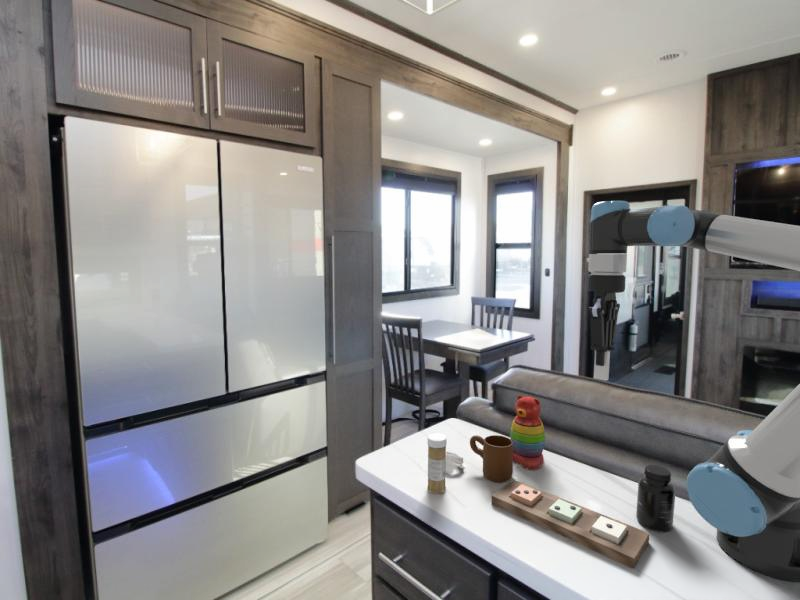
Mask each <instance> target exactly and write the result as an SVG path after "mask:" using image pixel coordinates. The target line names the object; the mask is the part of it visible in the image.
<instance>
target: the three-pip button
mask: <svg viewBox="0 0 800 600" xmlns="http://www.w3.org/2000/svg"><path fill="white" fill-rule="evenodd" d="M511 498H512V499H514V500H516V501H519V502H521V503H523V504H526V505H528V506H530V507H533V506H534V505H535V504H536V503H537V502H539V501H540V500H541V499H542V492H540V491H538V490H535V489H533V488H530V487H528V486H525V485H523V484H521V485H520V486H519V487H517V488H516V489H515V490H514V491H512V492H511Z"/></svg>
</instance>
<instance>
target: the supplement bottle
mask: <svg viewBox="0 0 800 600" xmlns="http://www.w3.org/2000/svg"><path fill="white" fill-rule="evenodd" d="M637 485H638V486H637V498H636V513H635V515H636V519H637V522H638V523H640V524H641V525H642V526H643V527H645V528H647V529H650V530H652V531H655V532H664V533H665V532H668V531H671V530H672V528H673V526H674V516H675V515H674V513H675V503H676V488H675V486H674V484H673V483H672V472H671V470H670V469H668V468H666V467H664V466H661V465H658V464H648V465H646V466H645V467H644V473H643V476H642V477H640V478H639V481H638V483H637Z"/></svg>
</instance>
